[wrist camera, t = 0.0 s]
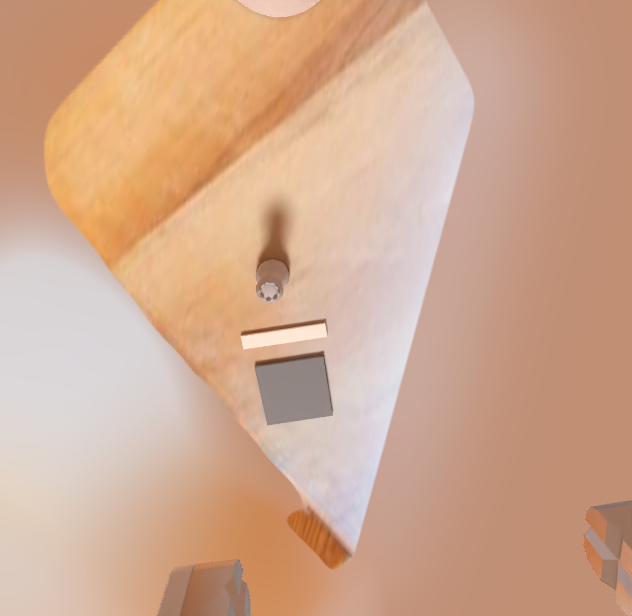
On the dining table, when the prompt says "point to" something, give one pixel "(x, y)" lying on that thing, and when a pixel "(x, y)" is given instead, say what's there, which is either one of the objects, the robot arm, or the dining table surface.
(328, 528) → the dining table surface
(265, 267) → the rook chess piece
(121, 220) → the dining table surface
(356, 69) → the dining table surface
